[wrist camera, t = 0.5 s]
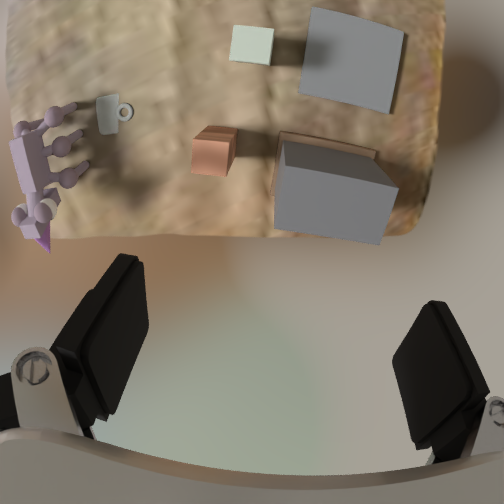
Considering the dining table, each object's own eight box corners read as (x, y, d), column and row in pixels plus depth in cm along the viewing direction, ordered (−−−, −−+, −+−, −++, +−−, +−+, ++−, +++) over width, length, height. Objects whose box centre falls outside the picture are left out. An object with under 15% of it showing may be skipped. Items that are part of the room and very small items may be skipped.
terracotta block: (207, 125, 39) (192, 139, 32) (237, 128, 39) (229, 142, 32) (205, 153, 41) (191, 172, 34) (234, 157, 41) (226, 176, 34)
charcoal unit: (280, 130, 38) (281, 154, 28) (373, 149, 38) (405, 180, 28) (270, 192, 43) (267, 236, 33) (358, 207, 43) (380, 253, 33)
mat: (311, 7, 29) (312, 6, 28) (401, 32, 29) (404, 32, 28) (298, 92, 35) (298, 93, 34) (386, 113, 35) (388, 114, 35)
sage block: (241, 33, 31) (233, 24, 25) (274, 37, 31) (273, 29, 25) (238, 62, 34) (229, 60, 27) (270, 65, 34) (268, 64, 27)
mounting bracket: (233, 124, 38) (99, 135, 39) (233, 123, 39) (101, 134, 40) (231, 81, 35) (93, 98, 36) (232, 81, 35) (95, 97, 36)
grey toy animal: (110, 215, 47) (64, 264, 36) (65, 218, 49) (19, 261, 37) (83, 97, 36) (19, 118, 25) (37, 113, 38) (-23, 138, 26)
